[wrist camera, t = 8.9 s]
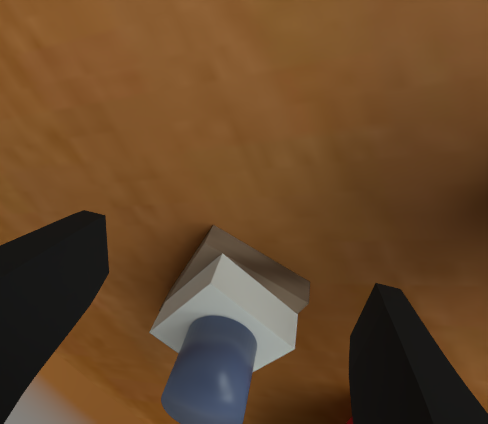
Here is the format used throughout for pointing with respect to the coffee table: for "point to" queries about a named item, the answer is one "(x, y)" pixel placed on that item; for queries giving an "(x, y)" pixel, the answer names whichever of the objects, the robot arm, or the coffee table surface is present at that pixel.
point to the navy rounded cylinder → (211, 373)
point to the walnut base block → (246, 269)
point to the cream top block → (229, 310)
